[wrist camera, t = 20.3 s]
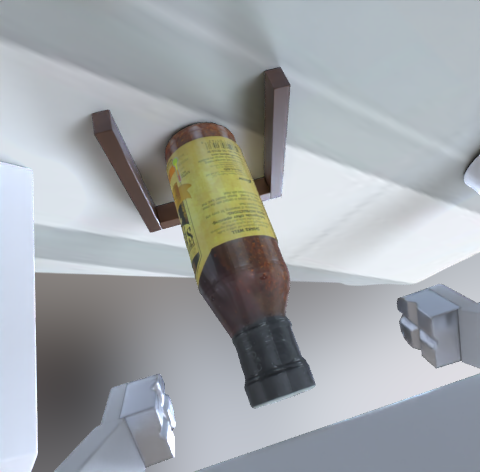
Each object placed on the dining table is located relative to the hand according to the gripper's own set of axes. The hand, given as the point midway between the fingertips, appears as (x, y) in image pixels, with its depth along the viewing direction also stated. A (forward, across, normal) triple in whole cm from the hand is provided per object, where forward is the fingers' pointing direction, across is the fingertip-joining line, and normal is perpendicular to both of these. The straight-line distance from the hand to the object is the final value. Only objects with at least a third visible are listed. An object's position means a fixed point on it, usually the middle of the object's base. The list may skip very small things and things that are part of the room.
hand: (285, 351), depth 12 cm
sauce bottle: (+21, 0, -6) cm, 22 cm away
